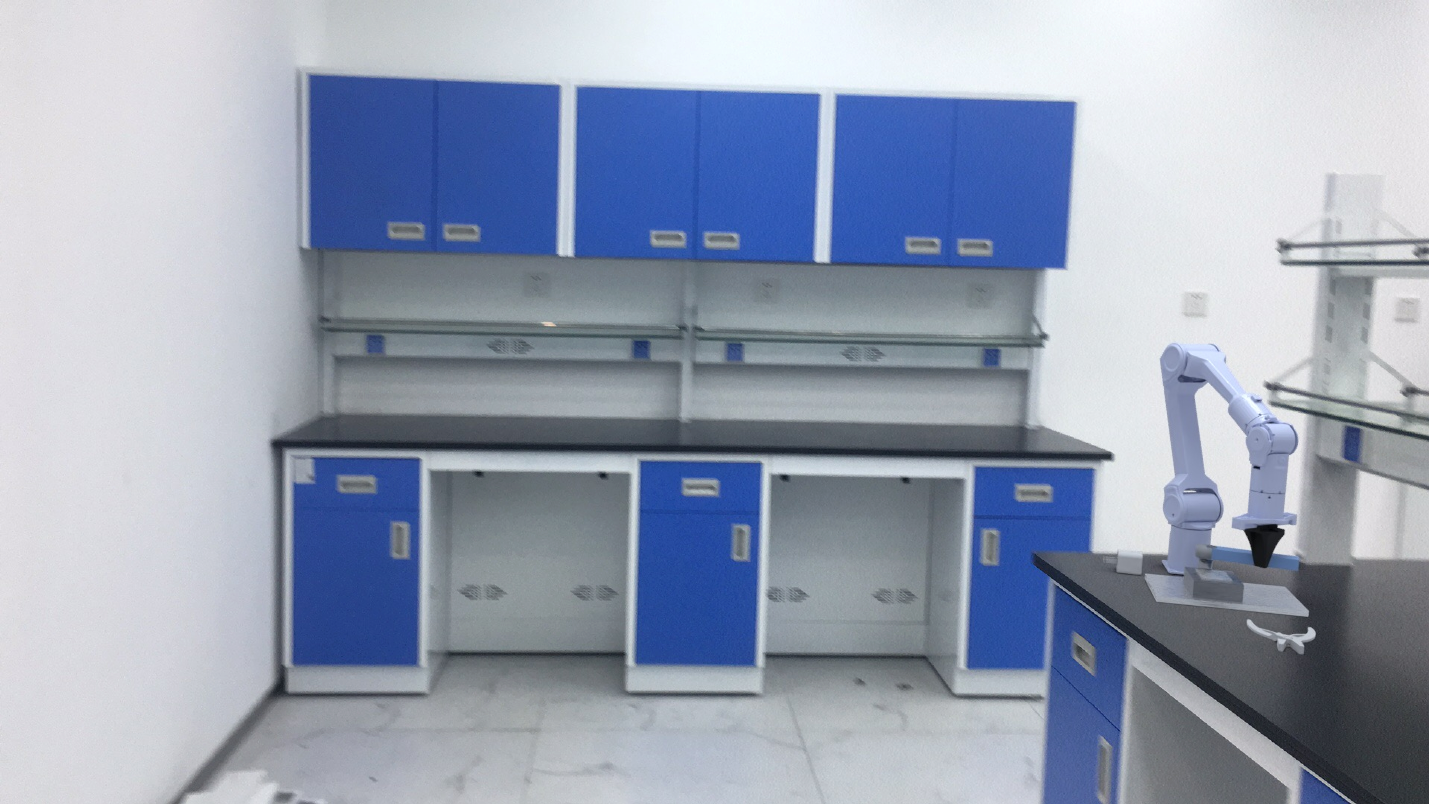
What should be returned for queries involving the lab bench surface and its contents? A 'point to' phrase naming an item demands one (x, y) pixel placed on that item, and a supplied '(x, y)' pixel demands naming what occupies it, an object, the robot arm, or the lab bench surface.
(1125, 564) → the usb wall charger
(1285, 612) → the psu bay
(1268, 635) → the pliers
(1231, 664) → the lab bench surface
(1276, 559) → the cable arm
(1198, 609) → the lab bench surface
